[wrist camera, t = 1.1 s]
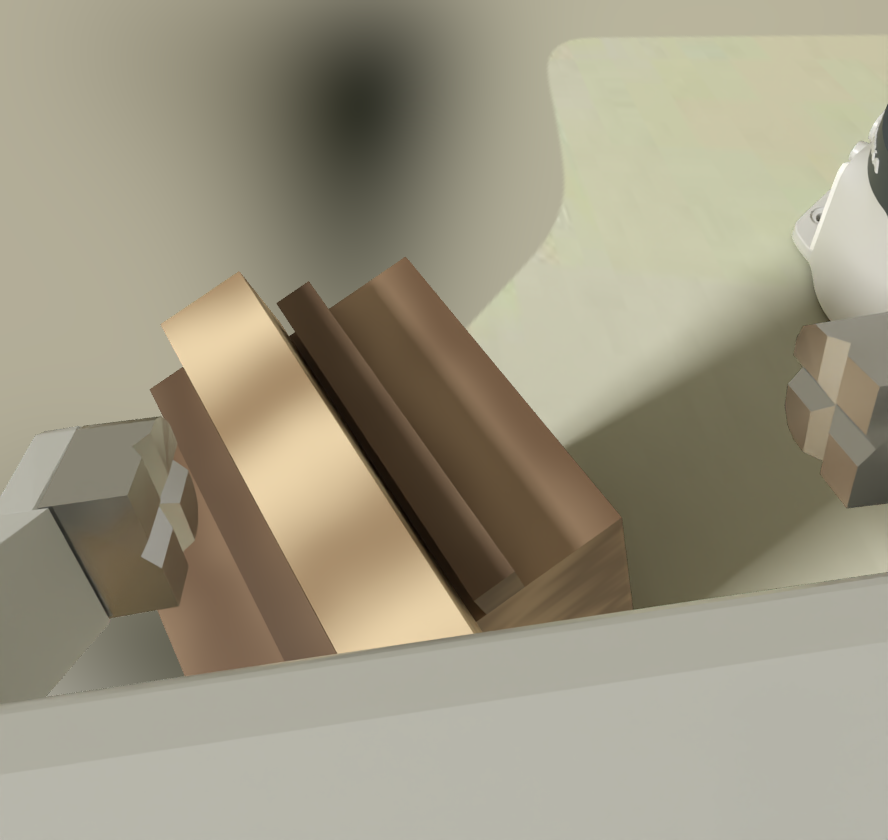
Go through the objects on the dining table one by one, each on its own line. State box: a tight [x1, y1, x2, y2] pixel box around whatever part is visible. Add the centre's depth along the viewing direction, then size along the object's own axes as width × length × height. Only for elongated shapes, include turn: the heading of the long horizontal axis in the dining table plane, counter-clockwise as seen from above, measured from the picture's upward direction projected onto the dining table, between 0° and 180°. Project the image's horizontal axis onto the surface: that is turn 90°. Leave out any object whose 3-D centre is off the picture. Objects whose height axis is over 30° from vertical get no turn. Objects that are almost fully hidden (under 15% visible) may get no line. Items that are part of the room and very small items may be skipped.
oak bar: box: [161, 272, 482, 654], centre depth 24 cm, size 24×4×4 cm, turn 33°
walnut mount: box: [150, 257, 633, 676], centre depth 38 cm, size 15×14×28 cm
